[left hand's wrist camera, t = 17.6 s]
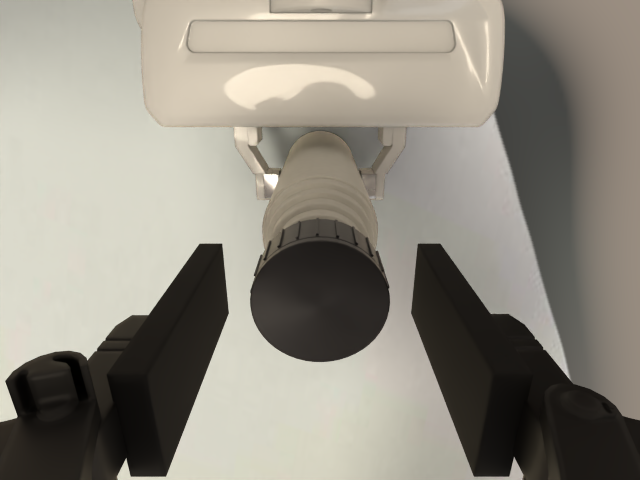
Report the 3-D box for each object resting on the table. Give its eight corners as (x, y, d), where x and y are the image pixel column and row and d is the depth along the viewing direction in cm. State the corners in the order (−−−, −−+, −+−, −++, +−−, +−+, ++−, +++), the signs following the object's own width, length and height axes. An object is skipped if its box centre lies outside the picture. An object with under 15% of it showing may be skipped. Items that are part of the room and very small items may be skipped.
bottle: (319, 116, 31) (318, 183, 12) (366, 164, 33) (435, 295, 13) (273, 165, 33) (204, 297, 13) (320, 209, 34) (321, 388, 15)
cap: (263, 330, 15) (255, 366, 14) (252, 218, 14) (241, 241, 12) (380, 326, 15) (389, 361, 13) (383, 214, 14) (393, 236, 12)
